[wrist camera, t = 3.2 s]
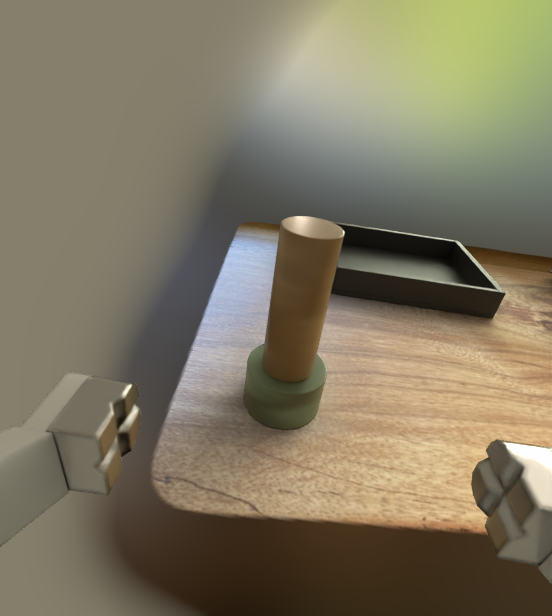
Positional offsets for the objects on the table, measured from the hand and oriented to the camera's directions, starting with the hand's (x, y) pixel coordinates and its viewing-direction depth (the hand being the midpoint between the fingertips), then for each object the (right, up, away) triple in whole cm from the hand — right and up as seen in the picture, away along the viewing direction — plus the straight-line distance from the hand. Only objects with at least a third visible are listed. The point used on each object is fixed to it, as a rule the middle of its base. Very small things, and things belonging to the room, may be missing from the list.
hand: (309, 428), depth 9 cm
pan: (+14, +7, +36) cm, 39 cm away
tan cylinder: (0, -3, +16) cm, 17 cm away
